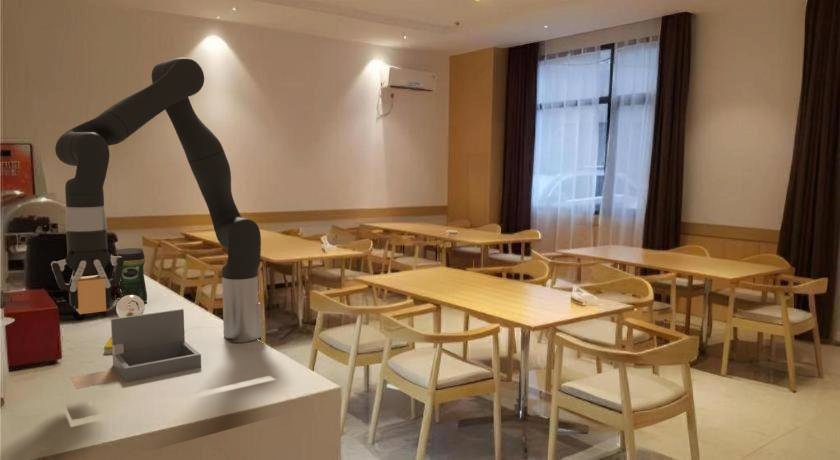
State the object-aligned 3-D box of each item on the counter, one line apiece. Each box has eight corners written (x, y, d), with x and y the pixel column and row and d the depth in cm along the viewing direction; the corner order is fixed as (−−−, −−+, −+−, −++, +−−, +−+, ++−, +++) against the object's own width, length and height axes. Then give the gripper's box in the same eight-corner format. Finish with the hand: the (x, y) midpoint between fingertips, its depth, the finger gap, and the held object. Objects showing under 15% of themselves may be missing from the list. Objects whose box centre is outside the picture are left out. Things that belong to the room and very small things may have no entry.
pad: (111, 373, 136) (111, 369, 135) (118, 384, 129) (118, 380, 129) (70, 381, 131) (70, 377, 130) (76, 393, 124) (76, 388, 124)
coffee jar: (146, 298, 206) (144, 245, 204) (148, 304, 199) (145, 249, 197) (115, 301, 202) (112, 247, 199) (115, 307, 195) (112, 250, 192)
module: (101, 306, 131) (100, 274, 131) (106, 310, 128) (104, 278, 127) (75, 309, 128) (74, 277, 128) (79, 314, 125) (77, 281, 124)
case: (184, 355, 148) (182, 308, 147) (201, 370, 138) (199, 320, 137) (113, 369, 138) (110, 318, 137) (126, 386, 128) (123, 332, 127)
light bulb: (111, 340, 160) (109, 296, 159) (132, 333, 166) (130, 291, 165) (131, 343, 157) (128, 299, 156) (151, 336, 164) (150, 293, 162)
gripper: (119, 224, 133) (123, 298, 135) (44, 227, 124) (49, 307, 126) (127, 227, 127) (131, 305, 129) (49, 231, 119) (54, 315, 121)
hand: (90, 305), depth 128 cm, fingers closed on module, 5 cm apart
